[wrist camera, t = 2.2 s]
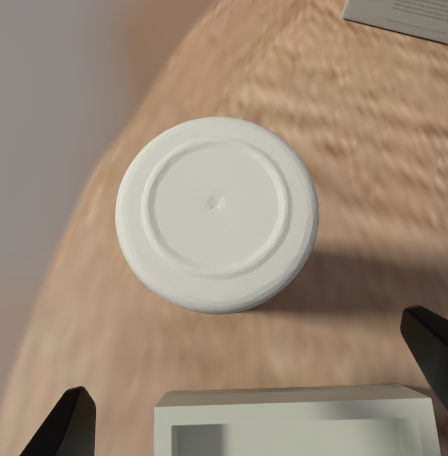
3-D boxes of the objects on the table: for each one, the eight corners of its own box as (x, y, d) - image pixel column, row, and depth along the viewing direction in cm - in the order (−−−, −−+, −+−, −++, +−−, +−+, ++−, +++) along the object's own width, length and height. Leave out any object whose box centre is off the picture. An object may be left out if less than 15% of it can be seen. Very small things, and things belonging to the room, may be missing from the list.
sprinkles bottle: (262, 313, 19) (328, 319, 6) (184, 310, 20) (95, 311, 6) (262, 237, 21) (321, 110, 7) (189, 235, 21) (120, 105, 8)
